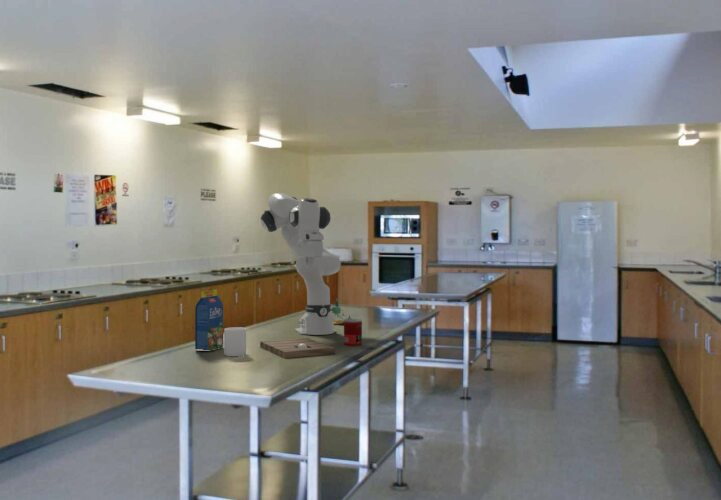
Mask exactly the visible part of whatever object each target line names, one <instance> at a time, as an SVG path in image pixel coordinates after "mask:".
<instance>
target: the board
mask: <svg viewBox="0 0 721 500" xmlns="http://www.w3.org/2000/svg"><path fill="white" fill-rule="evenodd" d="M302 343H303V344H306V346H307V348H302V349H299V348H298V346H299V345H300V344H302ZM259 344H260V345H259V347H260V348H261V349H263V350H265V351H267V352H269V351H270V353H272V354H274V355H276V356H279V357H281V358H282V359H291V358H300V357H312V356H322V355H323V356H325V355H326V356H327V355H333V354H335V353H336V351H335V349H336V348H335V347H334V346H331V345H328V344H325V343H323V342H320V341H317V340H314V339H312V338H309V337H306V338H305V337H304V338H291V339H289V338H288V339H278V340H277V339H276V340H275V339H274V340H262V341H260V343H259Z"/></svg>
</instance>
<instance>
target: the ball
mask: <svg viewBox="0 0 721 500" xmlns="http://www.w3.org/2000/svg"><path fill="white" fill-rule="evenodd" d="M298 348H299V349H302V348H307V346H306V344H303V343H302V344H300V345H299V346H298Z"/></svg>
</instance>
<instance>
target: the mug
mask: <svg viewBox="0 0 721 500" xmlns="http://www.w3.org/2000/svg"><path fill="white" fill-rule="evenodd" d="M223 349H224V350H223V351H224V356H225V355H226V356H225V357H228V356H240V357H244V356H246V354H247V328H246V327H242V326H235V327H234V326H233V327H226V328H223ZM243 355H244V356H243Z"/></svg>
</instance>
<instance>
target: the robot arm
mask: <svg viewBox="0 0 721 500" xmlns="http://www.w3.org/2000/svg"><path fill="white" fill-rule="evenodd" d="M267 204H268V208H269V209H267V210H264V212H263V213H262V214H261V216H260V223H261V225H262V227H263V228H264V229H265V230H266V231H267V232H269V233H273V232H276V231H277V230H278V229H280V232H281V235H282V237H283V239H284V241H285V243H286V244H287V245H288V247H289V248H290V250H292V252H293V253H294V254H295V256H296V257H298V258H296V261H295V270H296V271H297V273H298V274H299V275H300V276H301V277H302V279H303V281H304V284H305V287H306V301H307V302H306V303H307V304H305V312H304V314H303V315H302V316H301V317H300V318H299V320H298V321H297V322H298V326H299V327H296V328H295V329H294V330H295V331H296V332H297V333H299V334H300V335H313V336H314V335H315V336H317V335H318V336H319V335H320V336H321V335H322V336H323V335H325V336H326V335H331V334H334V333H337V329H335V327H334V326H335V324H334V322H333V320H334V316H333V315H334V314H333V313H331V312H332V311H331V309H332V306H331V290H330V287H329V286H328V285H327V284H326V283H325V281H324V278H323V276H332V275H334V274H336V273H338V272H339V271H340V269H341V265H342V263H341V258H340V257H339V256H338V255H337V254H334V253H332V252H330V251H328V250H327V249H325V248H324V243H323V240H324V238H325V237H324V236H325V235H323V234H322V233H321V231H320V230H324V229H325V228H326V227H327V226H329V224H330V222H331V213H330V211H329V209H328V208H327V207H325V206H319V201H318V200H317V199H315V198H309V197H308V198H301V199H300V200H299V199H298V198H297V197H295V196H290V195H288V194H286V193H282V192H276V193H273V194H271V195H270V196H269V198H268V202H267Z"/></svg>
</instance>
